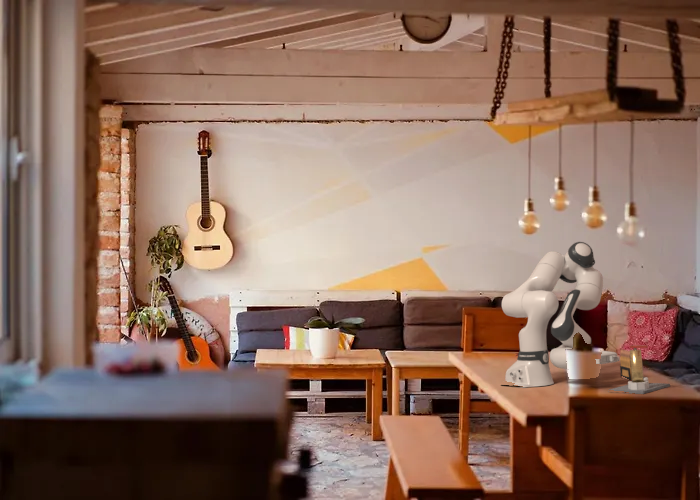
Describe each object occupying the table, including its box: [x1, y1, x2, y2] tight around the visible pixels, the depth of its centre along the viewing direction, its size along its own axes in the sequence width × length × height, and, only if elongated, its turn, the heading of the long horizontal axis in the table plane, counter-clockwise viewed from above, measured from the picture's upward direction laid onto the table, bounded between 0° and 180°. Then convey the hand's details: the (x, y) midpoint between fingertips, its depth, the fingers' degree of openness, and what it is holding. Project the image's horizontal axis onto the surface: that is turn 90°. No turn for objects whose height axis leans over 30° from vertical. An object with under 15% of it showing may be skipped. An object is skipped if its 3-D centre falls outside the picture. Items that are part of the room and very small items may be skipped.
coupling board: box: [608, 376, 671, 395], centre depth 320 cm, size 14×20×4 cm
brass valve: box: [629, 344, 649, 383], centre depth 315 cm, size 7×4×16 cm, turn 42°
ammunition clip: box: [619, 349, 632, 381], centre depth 351 cm, size 11×2×12 cm, turn 2°
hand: (609, 360), depth 327 cm, fingers open, 8 cm apart
